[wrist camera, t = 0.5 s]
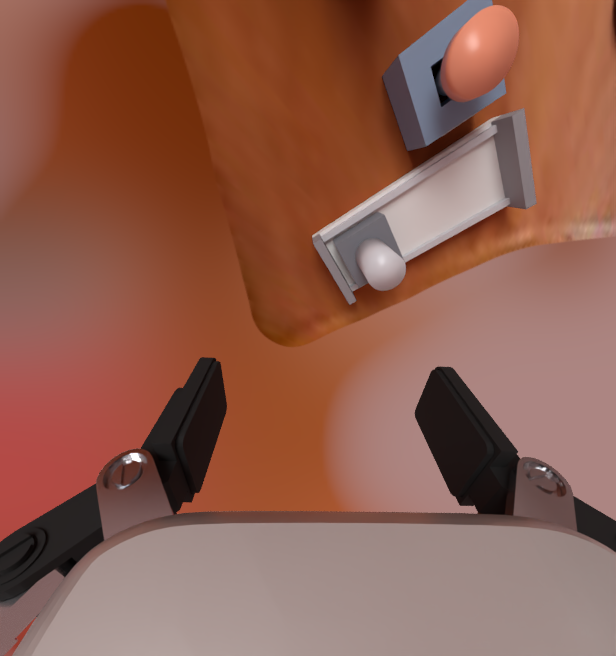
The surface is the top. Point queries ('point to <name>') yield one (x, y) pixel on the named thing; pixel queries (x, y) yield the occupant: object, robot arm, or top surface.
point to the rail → (444, 194)
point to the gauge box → (431, 84)
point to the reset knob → (479, 55)
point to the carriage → (372, 253)
